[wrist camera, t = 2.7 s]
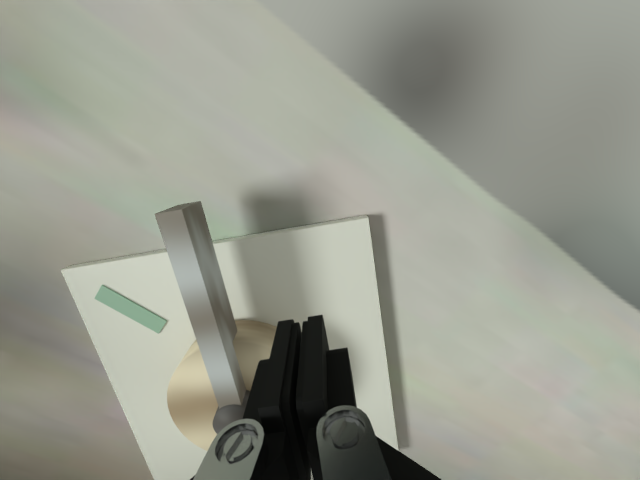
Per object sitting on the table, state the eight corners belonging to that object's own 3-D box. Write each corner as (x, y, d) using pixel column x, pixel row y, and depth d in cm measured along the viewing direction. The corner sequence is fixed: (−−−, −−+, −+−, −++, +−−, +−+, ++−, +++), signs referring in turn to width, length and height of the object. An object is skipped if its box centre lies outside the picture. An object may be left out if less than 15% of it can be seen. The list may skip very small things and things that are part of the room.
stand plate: (396, 447, 30) (399, 458, 29) (164, 480, 31) (158, 492, 30) (366, 214, 24) (368, 218, 22) (70, 265, 24) (59, 270, 23)
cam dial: (321, 416, 27) (323, 470, 23) (203, 434, 28) (181, 491, 23) (272, 186, 22) (260, 196, 17) (123, 212, 22) (72, 229, 17)
